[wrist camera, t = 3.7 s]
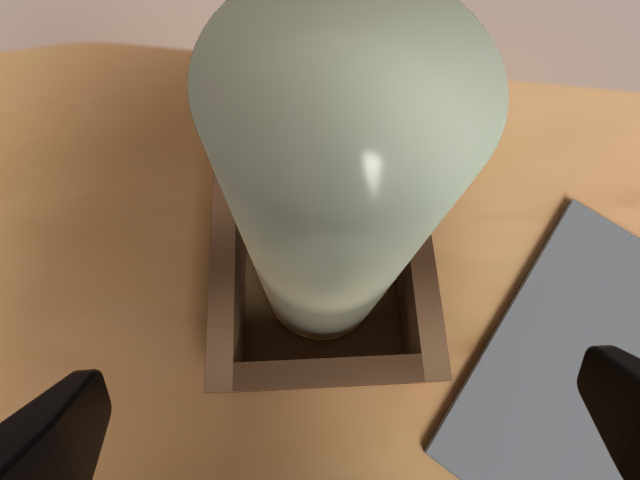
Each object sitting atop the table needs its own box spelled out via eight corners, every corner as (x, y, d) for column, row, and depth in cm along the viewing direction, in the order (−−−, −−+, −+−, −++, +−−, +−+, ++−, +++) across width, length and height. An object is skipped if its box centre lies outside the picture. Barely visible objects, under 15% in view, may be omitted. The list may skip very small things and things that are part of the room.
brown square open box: (430, 382, 19) (452, 380, 16) (220, 393, 18) (204, 392, 15) (406, 193, 22) (421, 163, 19) (225, 199, 21) (213, 169, 18)
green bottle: (303, 362, 19) (292, 291, 6) (247, 267, 20) (134, 30, 7) (396, 302, 20) (576, 122, 7) (337, 216, 21) (388, -78, 8)
